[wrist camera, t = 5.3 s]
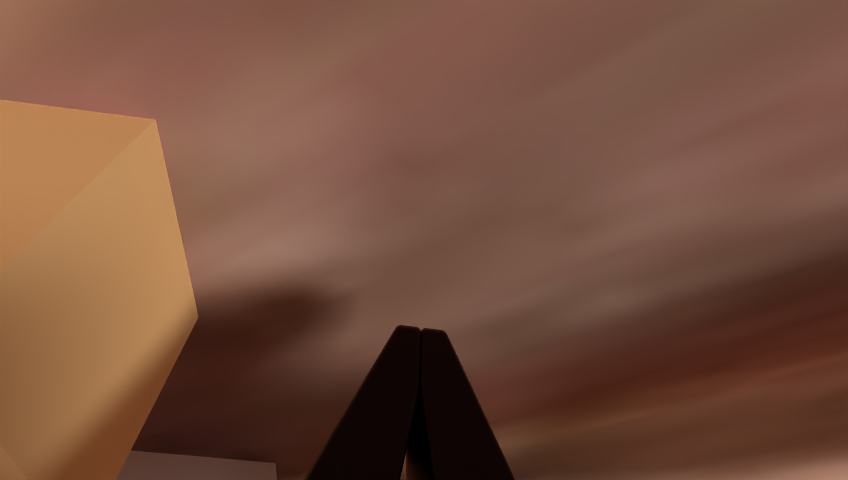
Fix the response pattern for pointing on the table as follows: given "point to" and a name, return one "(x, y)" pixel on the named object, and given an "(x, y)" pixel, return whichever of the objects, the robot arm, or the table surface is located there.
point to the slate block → (192, 468)
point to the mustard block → (84, 289)
